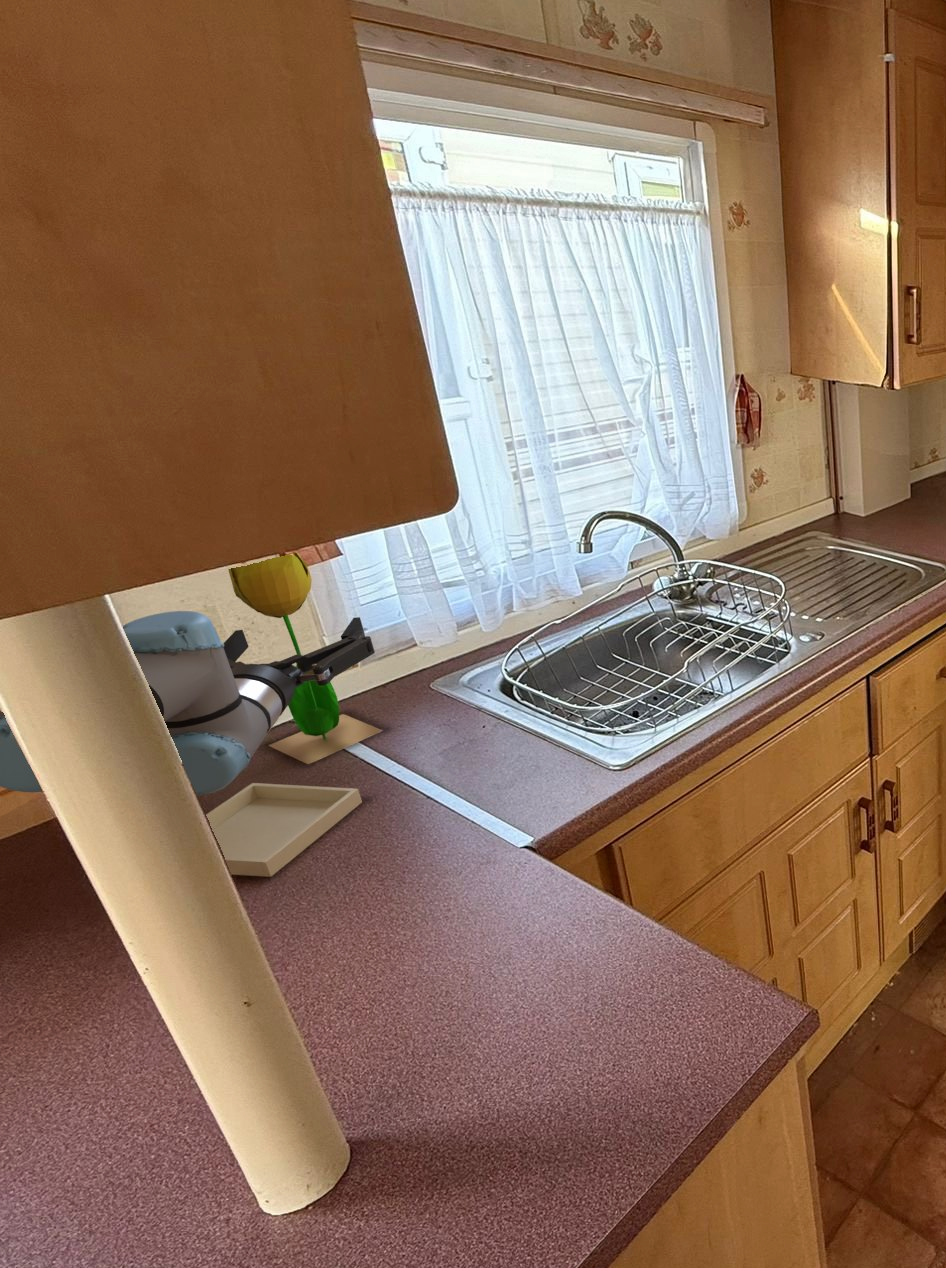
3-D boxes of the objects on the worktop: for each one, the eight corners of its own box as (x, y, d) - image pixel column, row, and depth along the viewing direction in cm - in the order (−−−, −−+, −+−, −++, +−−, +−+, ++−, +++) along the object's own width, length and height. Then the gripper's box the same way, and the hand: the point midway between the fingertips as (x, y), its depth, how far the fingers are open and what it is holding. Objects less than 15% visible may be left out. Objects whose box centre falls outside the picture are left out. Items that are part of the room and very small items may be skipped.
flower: (362, 741, 125) (302, 550, 113) (291, 760, 120) (221, 563, 108) (355, 717, 131) (297, 533, 119) (288, 734, 126) (220, 544, 114)
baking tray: (153, 873, 100) (145, 855, 99) (258, 798, 113) (252, 782, 112) (272, 879, 99) (265, 862, 98) (363, 804, 112) (358, 788, 111)
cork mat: (309, 767, 119) (308, 764, 119) (268, 748, 123) (267, 745, 123) (384, 733, 128) (383, 730, 128) (344, 716, 132) (343, 713, 131)
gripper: (122, 748, 101) (199, 668, 119) (375, 712, 110) (411, 643, 128) (98, 693, 98) (181, 619, 116) (359, 661, 107) (398, 597, 125)
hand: (302, 631), depth 122 cm, fingers open, 13 cm apart
